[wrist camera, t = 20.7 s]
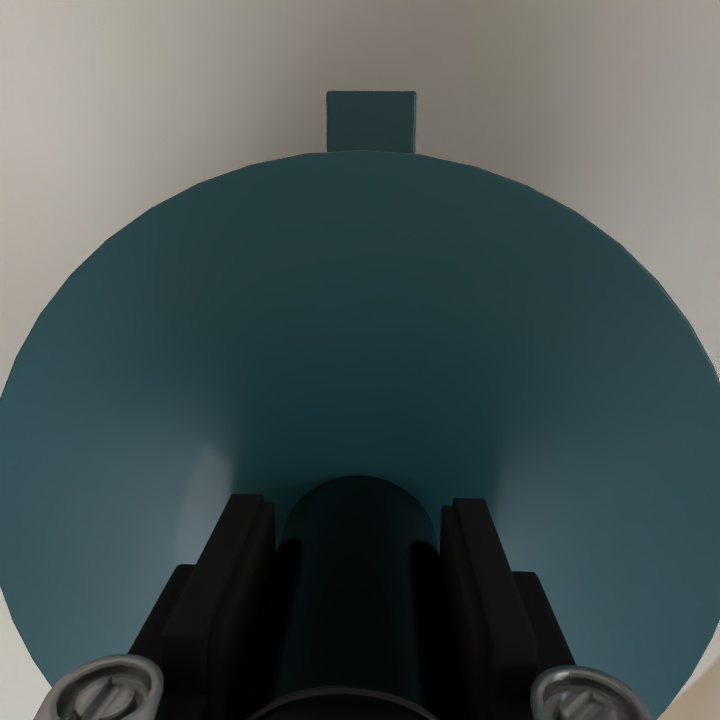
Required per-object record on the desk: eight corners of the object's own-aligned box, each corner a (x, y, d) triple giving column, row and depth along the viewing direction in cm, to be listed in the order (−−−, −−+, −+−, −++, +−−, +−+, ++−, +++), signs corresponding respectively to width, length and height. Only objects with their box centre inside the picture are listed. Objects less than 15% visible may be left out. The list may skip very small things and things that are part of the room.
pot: (544, 131, 25) (641, 86, 16) (513, 560, 29) (574, 720, 20) (205, 130, 25) (106, 84, 16) (224, 554, 30) (156, 708, 21)
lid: (763, 158, 11) (1271, 92, 5) (666, 803, 15) (889, 1264, 8) (-26, 152, 12) (-519, 84, 5) (56, 785, 15) (-182, 1216, 9)
